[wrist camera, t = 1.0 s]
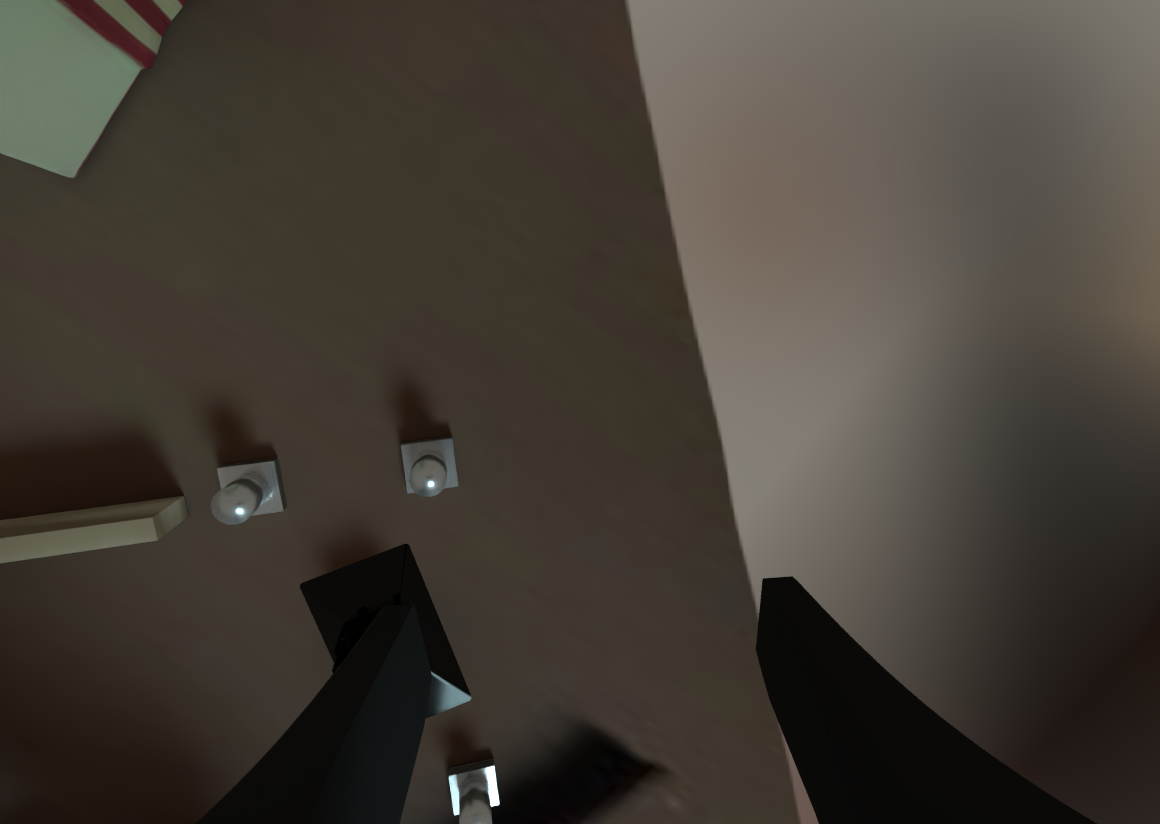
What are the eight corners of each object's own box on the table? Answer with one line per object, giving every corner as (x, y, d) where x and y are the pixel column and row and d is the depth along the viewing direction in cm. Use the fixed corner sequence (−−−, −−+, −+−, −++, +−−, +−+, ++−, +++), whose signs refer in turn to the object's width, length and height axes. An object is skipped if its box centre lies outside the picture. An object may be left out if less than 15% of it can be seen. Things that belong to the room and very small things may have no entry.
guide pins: (498, 795, 33) (502, 842, 30) (297, 843, 31) (282, 898, 28) (452, 435, 30) (452, 449, 27) (221, 464, 28) (194, 482, 25)
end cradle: (256, 832, 31) (235, 887, 28) (-17, 896, 29) (-70, 962, 26) (183, 495, 28) (152, 517, 25) (-131, 537, 25) (-206, 566, 22)
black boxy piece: (273, 556, 29) (240, 599, 25) (418, 503, 31) (411, 535, 26) (367, 763, 32) (353, 835, 28) (498, 707, 33) (505, 768, 29)
